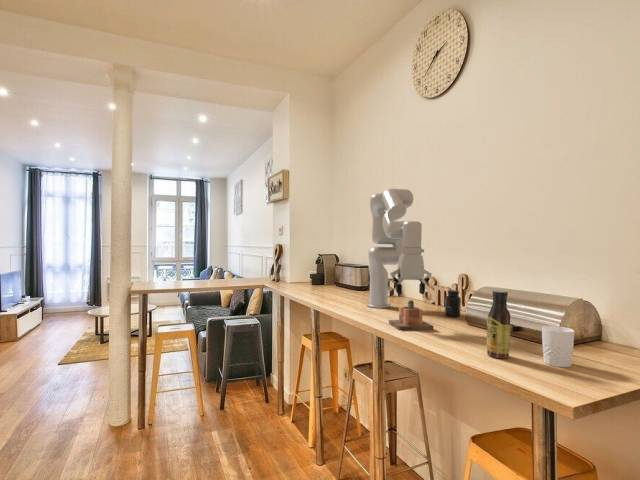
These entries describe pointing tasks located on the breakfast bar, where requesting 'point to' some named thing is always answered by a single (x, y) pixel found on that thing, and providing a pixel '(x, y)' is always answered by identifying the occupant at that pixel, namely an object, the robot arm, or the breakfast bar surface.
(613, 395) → the breakfast bar surface
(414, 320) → the reddish brown box
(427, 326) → the post board
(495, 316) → the sauce bottle
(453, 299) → the supplement bottle
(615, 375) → the breakfast bar surface
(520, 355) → the breakfast bar surface
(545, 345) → the white cup
